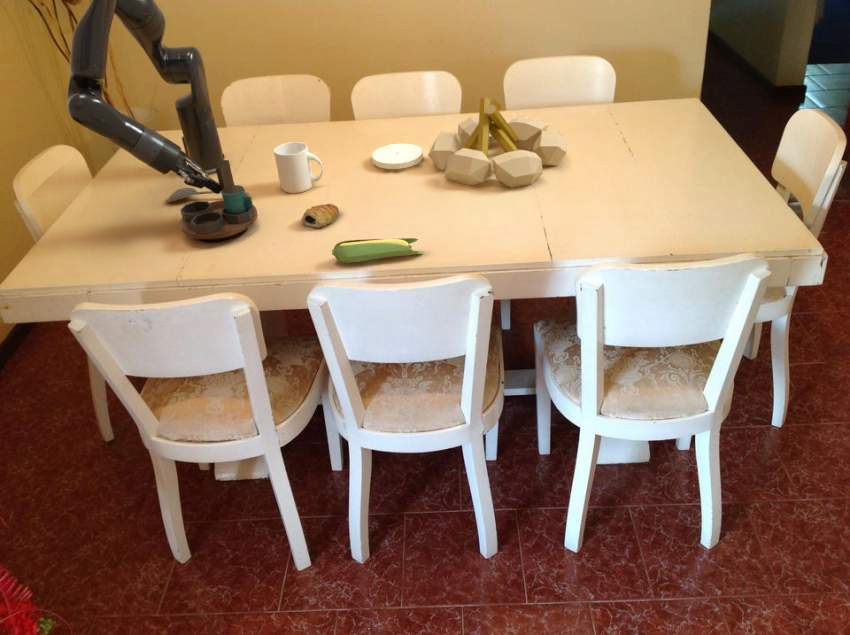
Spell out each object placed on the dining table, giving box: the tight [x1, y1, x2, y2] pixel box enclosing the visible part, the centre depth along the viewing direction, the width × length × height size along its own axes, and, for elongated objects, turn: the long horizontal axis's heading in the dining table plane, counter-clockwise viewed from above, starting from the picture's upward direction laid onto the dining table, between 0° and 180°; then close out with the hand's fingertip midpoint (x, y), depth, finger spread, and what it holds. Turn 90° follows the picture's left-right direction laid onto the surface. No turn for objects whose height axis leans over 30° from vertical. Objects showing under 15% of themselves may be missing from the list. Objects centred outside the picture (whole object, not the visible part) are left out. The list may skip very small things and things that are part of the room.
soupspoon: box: [167, 187, 251, 203], centre depth 190 cm, size 22×3×7 cm
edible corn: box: [331, 237, 425, 264], centre depth 158 cm, size 5×20×5 cm, turn 94°
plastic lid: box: [371, 142, 424, 170], centre depth 201 cm, size 14×14×2 cm
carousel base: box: [197, 227, 250, 244], centre depth 175 cm, size 13×13×2 cm
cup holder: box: [179, 159, 259, 240], centre depth 172 cm, size 19×18×11 cm
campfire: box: [427, 97, 568, 189], centre depth 192 cm, size 35×34×17 cm
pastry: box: [301, 203, 340, 229], centre depth 175 cm, size 9×7×4 cm
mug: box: [273, 141, 324, 194], centre depth 190 cm, size 9×12×11 cm
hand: (220, 190), depth 177 cm, fingers closed
